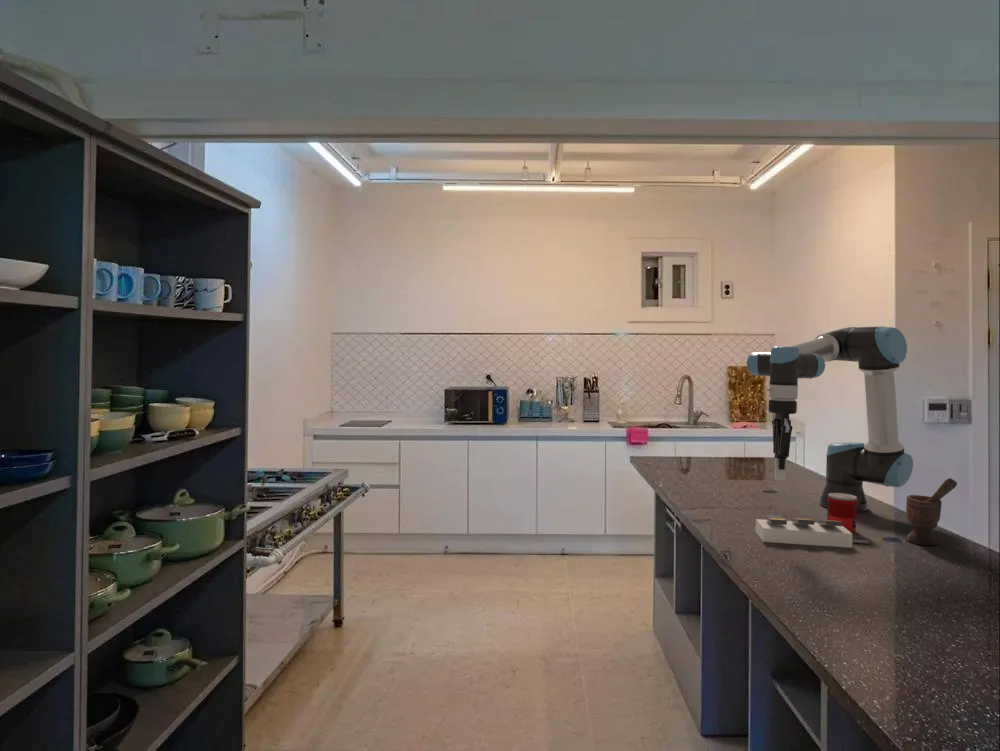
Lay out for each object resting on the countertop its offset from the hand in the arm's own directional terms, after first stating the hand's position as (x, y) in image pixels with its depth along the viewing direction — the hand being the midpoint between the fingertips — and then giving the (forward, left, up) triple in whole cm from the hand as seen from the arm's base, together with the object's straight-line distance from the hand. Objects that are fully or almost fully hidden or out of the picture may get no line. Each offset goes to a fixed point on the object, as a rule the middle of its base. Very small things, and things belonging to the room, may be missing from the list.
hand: (779, 479), depth 186 cm
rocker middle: (-7, -3, -13) cm, 15 cm away
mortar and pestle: (-43, -8, -18) cm, 48 cm away
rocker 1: (0, -3, -13) cm, 13 cm away
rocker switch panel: (-10, -3, -18) cm, 21 cm away
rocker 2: (-15, -3, -13) cm, 20 cm away
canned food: (-22, -16, -18) cm, 33 cm away
